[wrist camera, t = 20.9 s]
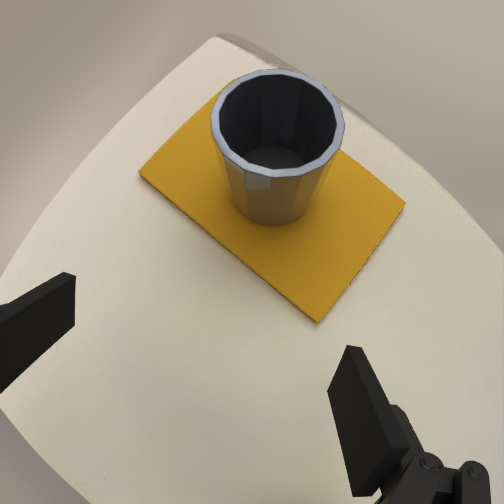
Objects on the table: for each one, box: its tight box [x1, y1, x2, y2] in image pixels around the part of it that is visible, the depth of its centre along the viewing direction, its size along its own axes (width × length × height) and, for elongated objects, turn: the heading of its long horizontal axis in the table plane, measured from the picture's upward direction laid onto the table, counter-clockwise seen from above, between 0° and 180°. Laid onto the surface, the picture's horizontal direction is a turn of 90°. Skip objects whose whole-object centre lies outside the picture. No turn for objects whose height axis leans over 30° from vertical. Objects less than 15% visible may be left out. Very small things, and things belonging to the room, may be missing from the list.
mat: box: [138, 79, 406, 323], centre depth 27 cm, size 20×13×1 cm, turn 50°
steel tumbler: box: [210, 69, 345, 226], centre depth 22 cm, size 7×7×10 cm
